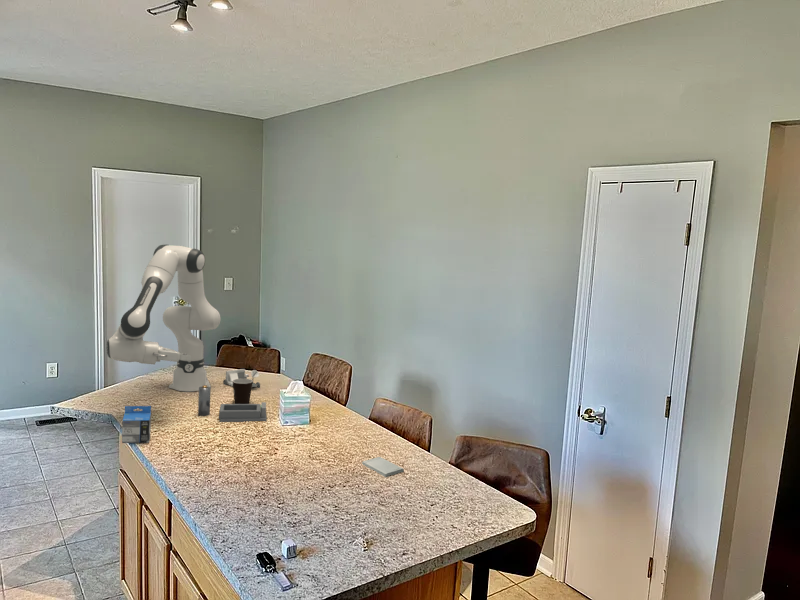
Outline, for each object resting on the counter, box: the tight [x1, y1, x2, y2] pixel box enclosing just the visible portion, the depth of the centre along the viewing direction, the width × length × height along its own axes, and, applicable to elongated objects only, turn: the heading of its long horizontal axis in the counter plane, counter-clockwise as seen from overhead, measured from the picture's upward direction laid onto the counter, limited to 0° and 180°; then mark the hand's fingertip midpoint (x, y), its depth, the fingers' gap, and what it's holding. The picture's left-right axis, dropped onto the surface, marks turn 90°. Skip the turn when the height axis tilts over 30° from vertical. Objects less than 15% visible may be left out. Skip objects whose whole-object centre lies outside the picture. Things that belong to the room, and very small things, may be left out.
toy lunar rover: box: [222, 368, 261, 389], centre depth 281 cm, size 18×10×12 cm
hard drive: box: [361, 456, 405, 478], centre depth 194 cm, size 2×8×12 cm
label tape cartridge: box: [121, 405, 152, 444], centre depth 202 cm, size 9×4×12 cm, turn 105°
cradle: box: [218, 401, 267, 423], centre depth 236 cm, size 12×18×5 cm, turn 104°
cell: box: [197, 385, 212, 417], centre depth 235 cm, size 5×5×12 cm
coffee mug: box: [232, 378, 254, 404], centre depth 256 cm, size 12×9×10 cm
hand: (188, 356), depth 232 cm, fingers open, 8 cm apart
